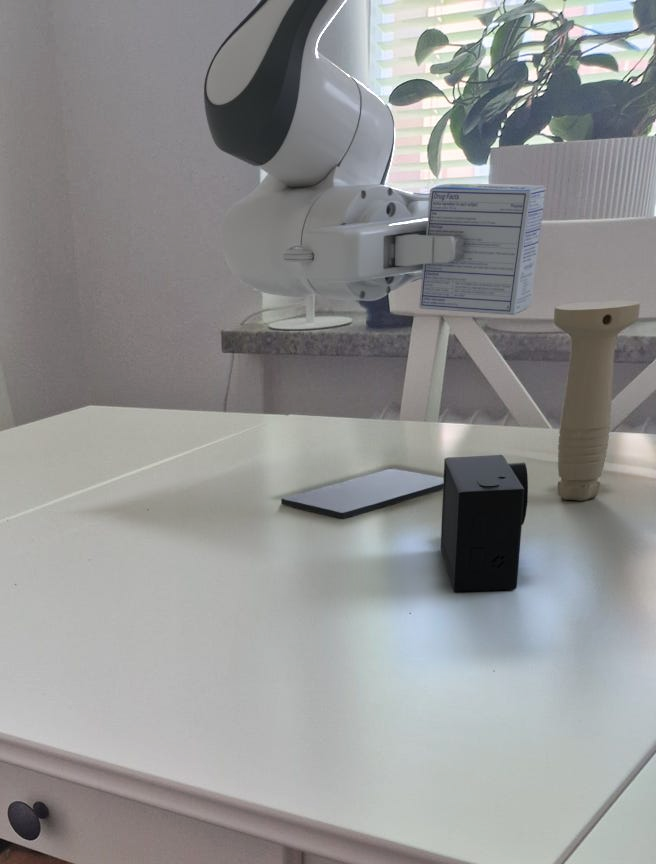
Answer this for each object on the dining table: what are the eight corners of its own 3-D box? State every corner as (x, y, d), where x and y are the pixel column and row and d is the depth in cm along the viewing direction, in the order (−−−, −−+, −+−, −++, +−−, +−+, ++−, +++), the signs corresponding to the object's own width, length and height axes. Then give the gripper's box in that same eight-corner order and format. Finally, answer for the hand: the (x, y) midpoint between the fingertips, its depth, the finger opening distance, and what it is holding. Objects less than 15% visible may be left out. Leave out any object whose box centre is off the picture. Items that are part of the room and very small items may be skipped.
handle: (625, 500, 97) (649, 304, 90) (549, 507, 97) (567, 311, 90) (604, 487, 101) (625, 298, 94) (531, 493, 101) (546, 305, 94)
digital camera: (534, 590, 80) (543, 486, 76) (454, 593, 81) (459, 490, 77) (512, 546, 89) (520, 452, 85) (440, 549, 89) (444, 456, 86)
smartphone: (391, 473, 111) (391, 468, 111) (455, 485, 106) (455, 480, 105) (281, 504, 105) (280, 498, 104) (343, 518, 99) (342, 513, 99)
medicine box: (530, 309, 93) (549, 185, 88) (513, 317, 90) (531, 188, 85) (436, 302, 96) (449, 182, 92) (417, 309, 93) (429, 185, 88)
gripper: (268, 213, 93) (394, 209, 83) (444, 192, 103) (575, 186, 93) (271, 299, 96) (392, 306, 87) (441, 271, 106) (567, 274, 96)
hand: (488, 244), depth 90 cm, fingers closed on medicine box, 5 cm apart
